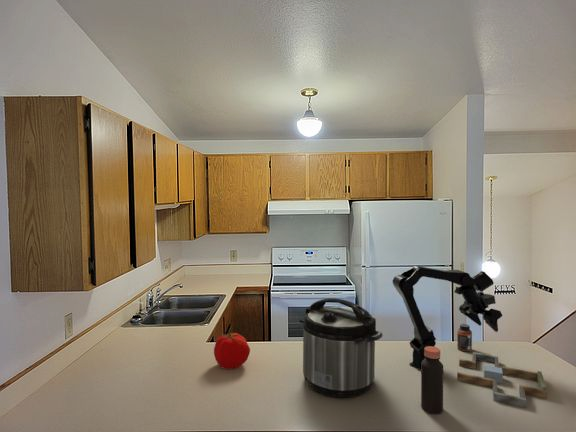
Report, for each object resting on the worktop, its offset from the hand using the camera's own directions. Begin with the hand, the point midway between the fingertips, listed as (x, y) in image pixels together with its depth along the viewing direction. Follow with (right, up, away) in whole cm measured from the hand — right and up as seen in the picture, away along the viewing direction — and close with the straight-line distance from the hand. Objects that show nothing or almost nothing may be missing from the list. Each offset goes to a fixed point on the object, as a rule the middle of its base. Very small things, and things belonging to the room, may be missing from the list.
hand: (488, 328), depth 150 cm
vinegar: (-37, -16, -33) cm, 52 cm away
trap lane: (-4, -15, -15) cm, 21 cm away
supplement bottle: (-4, -14, +13) cm, 20 cm away
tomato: (-108, -16, 0) cm, 109 cm away
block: (-6, -15, -14) cm, 21 cm away
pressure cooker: (-65, -16, -13) cm, 68 cm away
